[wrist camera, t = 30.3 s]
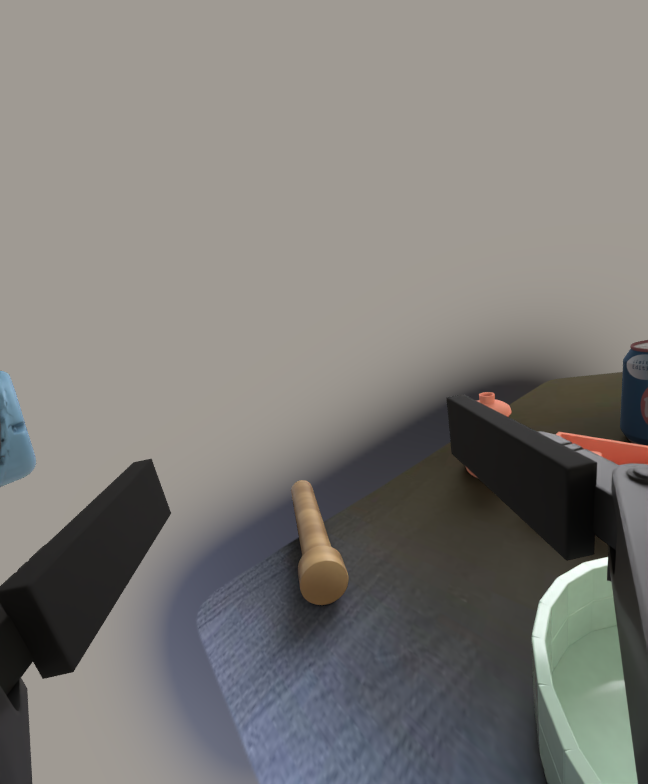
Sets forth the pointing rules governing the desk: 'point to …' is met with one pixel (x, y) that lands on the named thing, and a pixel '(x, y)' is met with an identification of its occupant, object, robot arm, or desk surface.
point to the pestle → (316, 551)
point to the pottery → (583, 439)
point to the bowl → (581, 682)
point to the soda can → (635, 394)
